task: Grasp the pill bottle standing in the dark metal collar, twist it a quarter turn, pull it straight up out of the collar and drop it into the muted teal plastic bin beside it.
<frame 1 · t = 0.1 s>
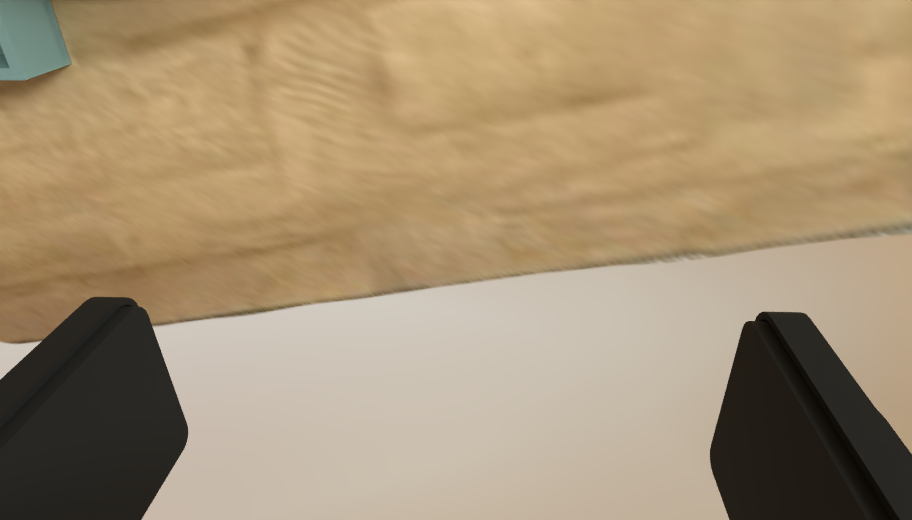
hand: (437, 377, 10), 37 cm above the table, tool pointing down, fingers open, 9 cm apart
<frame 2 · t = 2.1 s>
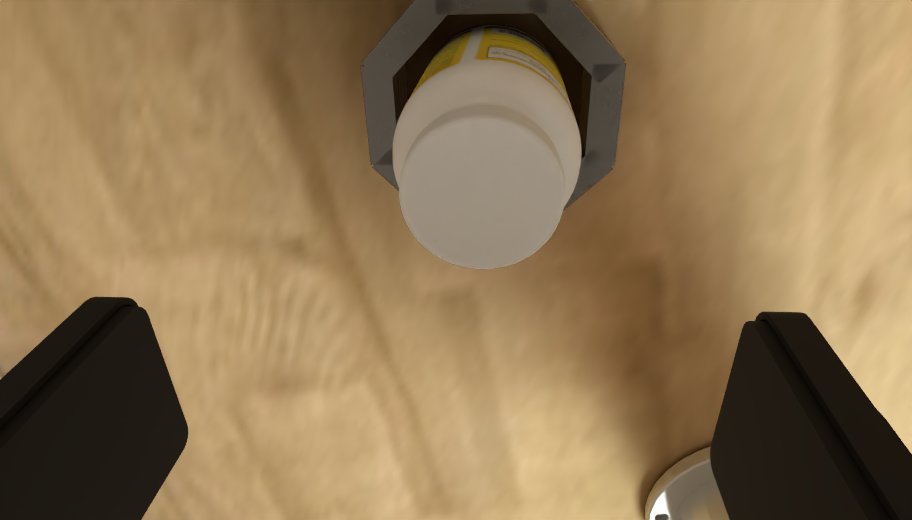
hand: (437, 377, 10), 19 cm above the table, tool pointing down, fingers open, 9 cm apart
pill bottle: (493, 96, 26), resting in socket collar
socket collar: (493, 97, 26), on the table
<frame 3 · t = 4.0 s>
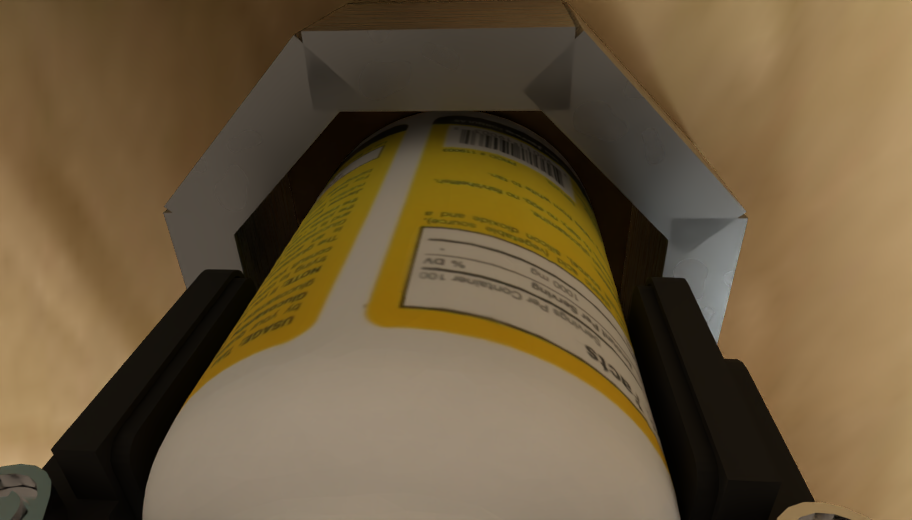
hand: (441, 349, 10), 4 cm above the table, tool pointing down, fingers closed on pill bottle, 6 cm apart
pill bottle: (460, 230, 14), resting in socket collar, touching gripper
socket collar: (459, 235, 14), on the table
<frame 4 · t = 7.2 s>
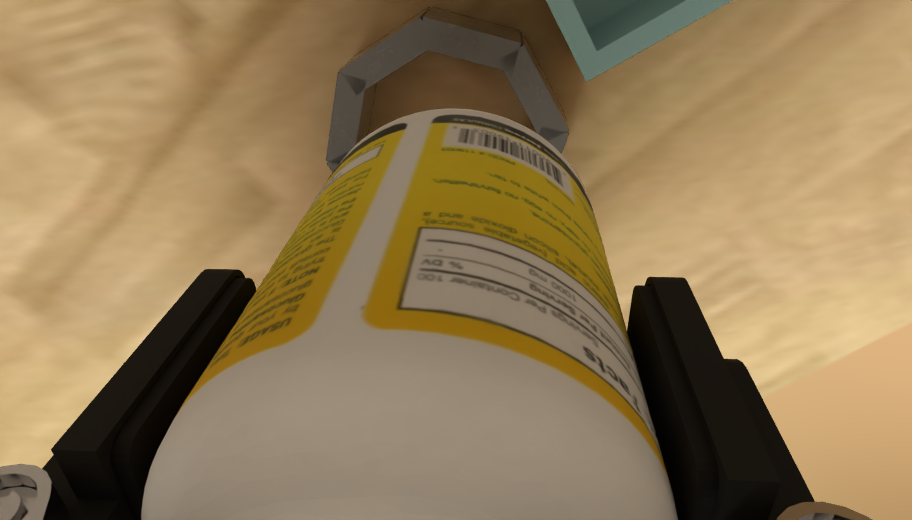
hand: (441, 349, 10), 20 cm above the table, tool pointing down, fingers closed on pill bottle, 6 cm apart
pill bottle: (459, 229, 14), point 15 cm above the table, touching gripper
socket collar: (449, 126, 29), on the table
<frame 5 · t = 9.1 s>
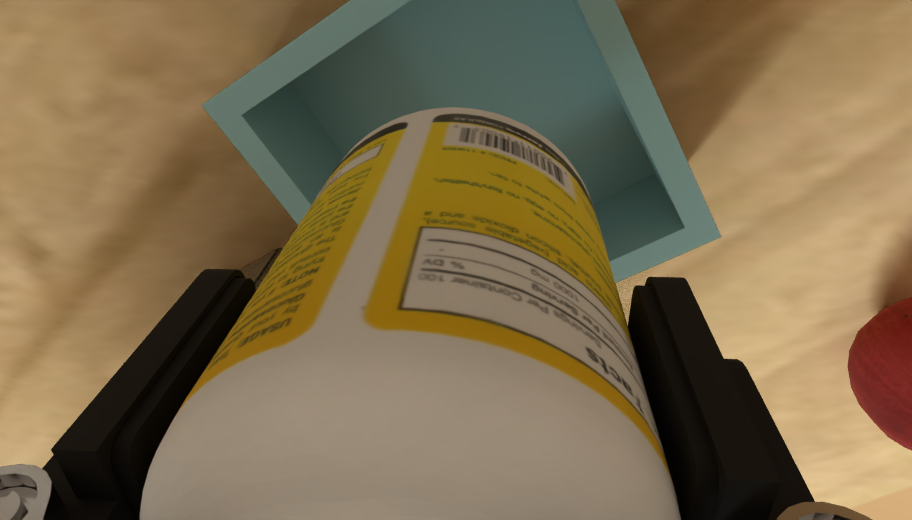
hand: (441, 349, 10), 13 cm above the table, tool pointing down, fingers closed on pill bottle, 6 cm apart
onion: (886, 312, 25), on the table
pill bottle: (460, 229, 14), point 9 cm above the table, touching gripper
bin: (475, 120, 22), on the table
socket collar: (313, 349, 28), on the table
when the fingers open (7 cm above the table, at t = 10.7 s): pill bottle drops 2 cm, resting on bin.
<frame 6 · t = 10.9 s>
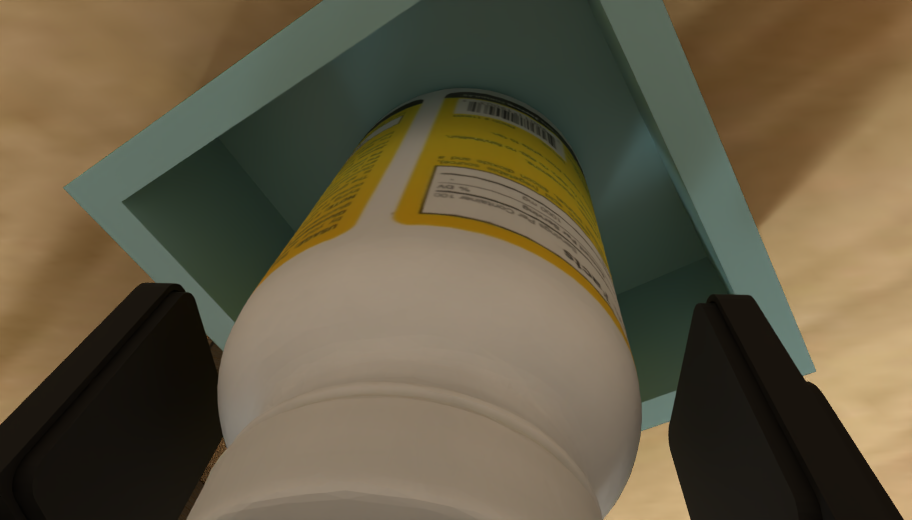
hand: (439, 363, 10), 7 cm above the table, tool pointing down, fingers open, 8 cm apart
pill bottle: (468, 198, 16), point 1 cm above the table, touching bin
bin: (467, 183, 16), on the table
socket collar: (269, 448, 22), on the table
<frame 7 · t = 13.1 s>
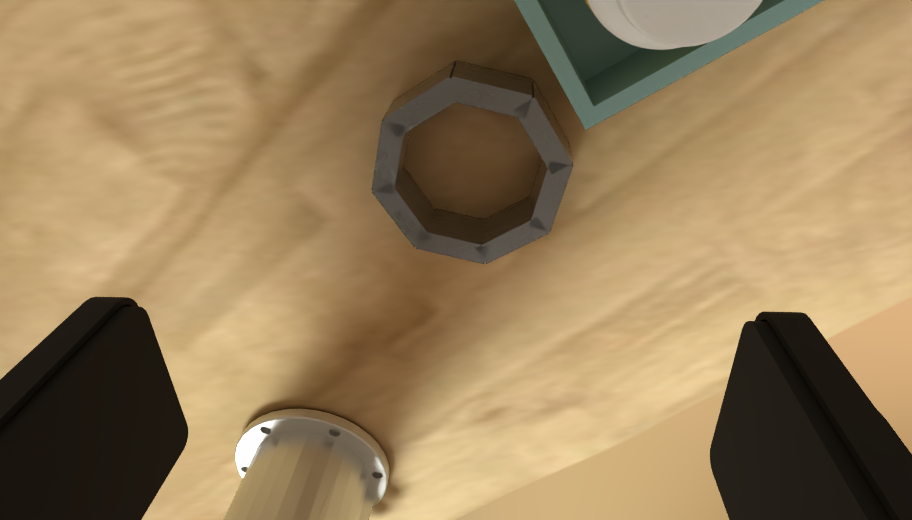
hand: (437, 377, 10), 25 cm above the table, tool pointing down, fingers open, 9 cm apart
socket collar: (473, 156, 34), on the table
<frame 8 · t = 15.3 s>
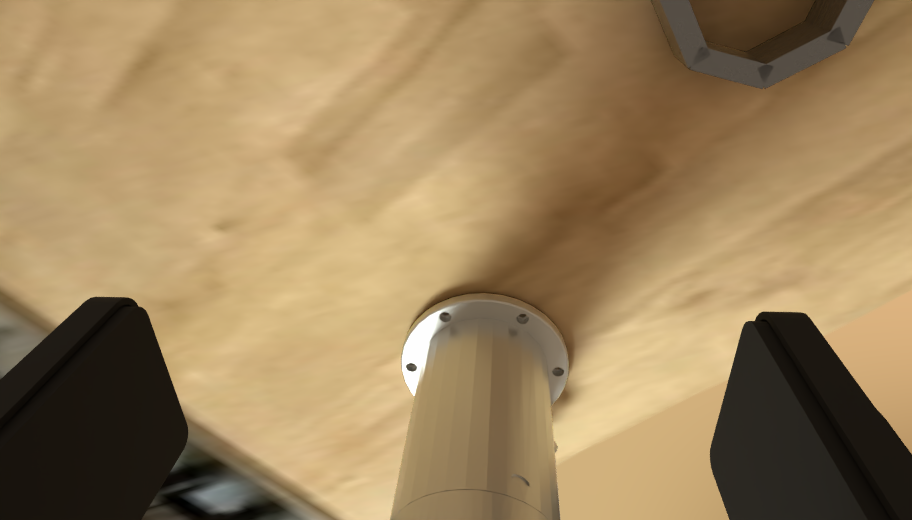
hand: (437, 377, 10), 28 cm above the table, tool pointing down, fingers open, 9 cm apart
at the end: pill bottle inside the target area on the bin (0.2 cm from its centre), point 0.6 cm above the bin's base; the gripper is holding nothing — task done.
